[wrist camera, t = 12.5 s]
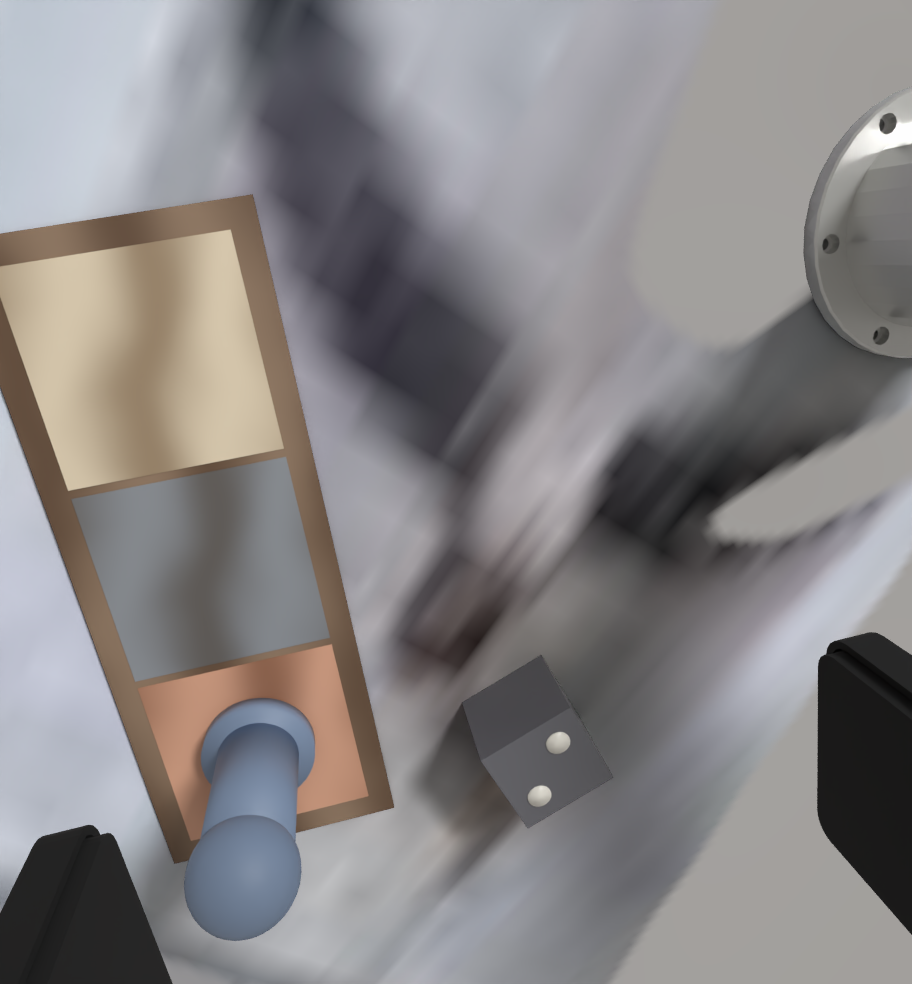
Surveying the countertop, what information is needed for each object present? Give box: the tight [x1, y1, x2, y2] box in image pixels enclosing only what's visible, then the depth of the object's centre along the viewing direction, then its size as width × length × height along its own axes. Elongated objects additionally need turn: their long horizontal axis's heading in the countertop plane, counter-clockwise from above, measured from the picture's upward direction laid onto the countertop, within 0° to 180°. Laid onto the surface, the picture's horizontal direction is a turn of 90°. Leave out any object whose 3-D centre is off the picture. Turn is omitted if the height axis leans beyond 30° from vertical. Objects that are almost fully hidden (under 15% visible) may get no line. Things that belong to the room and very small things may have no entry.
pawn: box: [184, 698, 315, 941], centre depth 33 cm, size 6×6×11 cm
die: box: [462, 655, 613, 828], centre depth 38 cm, size 5×5×5 cm
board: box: [0, 195, 394, 864], centre depth 35 cm, size 12×32×1 cm, turn 9°
